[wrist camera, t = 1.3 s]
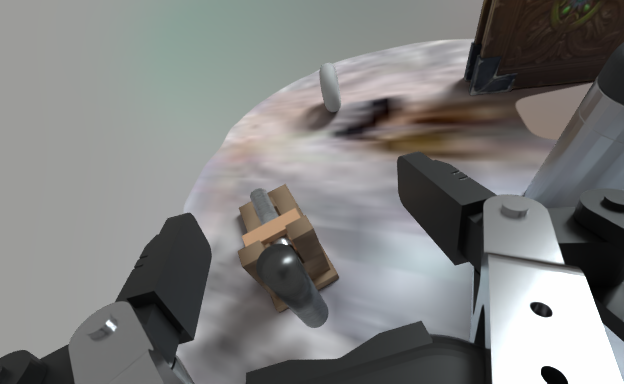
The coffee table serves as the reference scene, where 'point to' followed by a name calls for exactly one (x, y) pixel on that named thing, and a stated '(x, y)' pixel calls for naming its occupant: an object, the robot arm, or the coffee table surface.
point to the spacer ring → (272, 229)
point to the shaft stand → (301, 237)
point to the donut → (330, 87)
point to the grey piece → (287, 270)
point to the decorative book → (542, 43)
